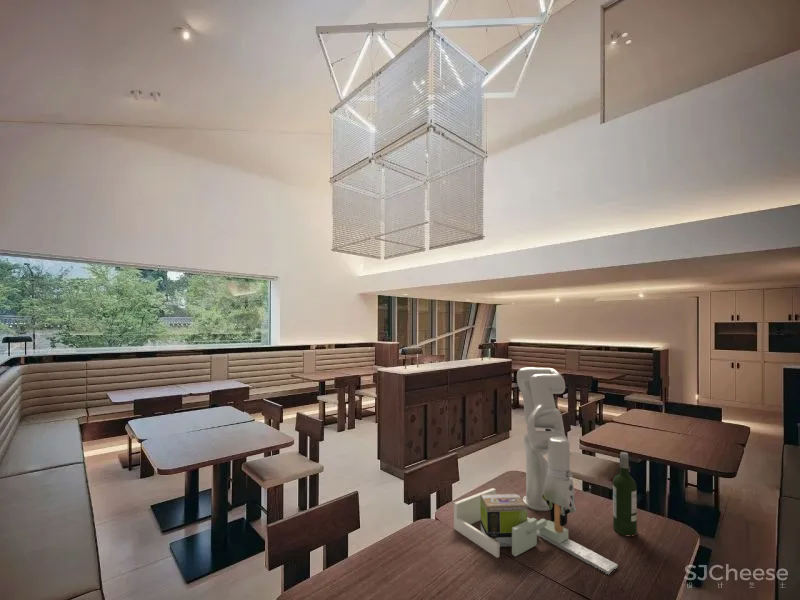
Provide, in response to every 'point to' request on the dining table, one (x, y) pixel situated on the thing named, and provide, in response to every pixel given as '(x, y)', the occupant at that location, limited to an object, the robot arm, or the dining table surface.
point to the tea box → (501, 516)
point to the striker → (527, 532)
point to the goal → (470, 513)
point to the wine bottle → (624, 500)
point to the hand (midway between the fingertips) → (558, 522)
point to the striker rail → (583, 554)
